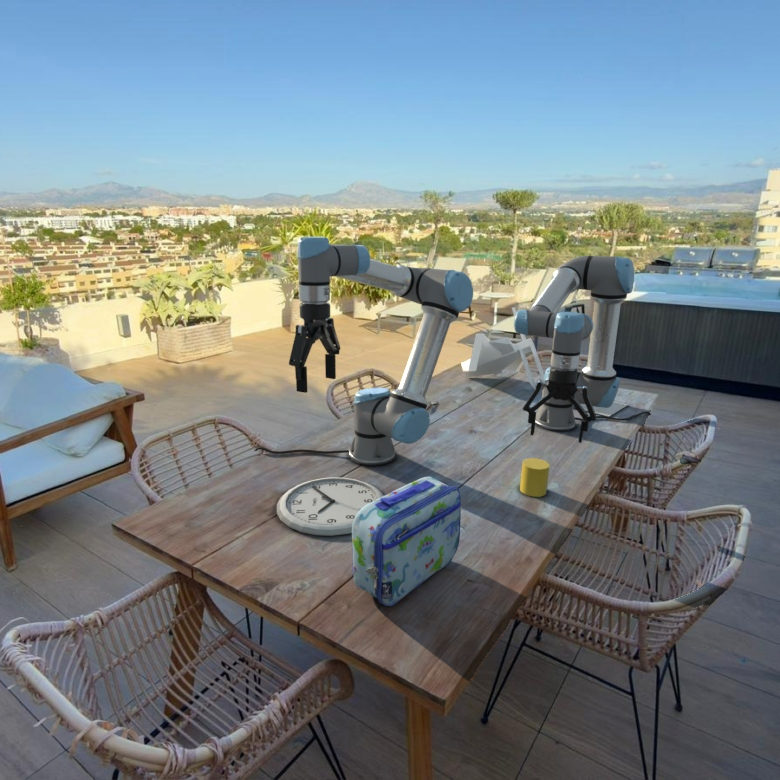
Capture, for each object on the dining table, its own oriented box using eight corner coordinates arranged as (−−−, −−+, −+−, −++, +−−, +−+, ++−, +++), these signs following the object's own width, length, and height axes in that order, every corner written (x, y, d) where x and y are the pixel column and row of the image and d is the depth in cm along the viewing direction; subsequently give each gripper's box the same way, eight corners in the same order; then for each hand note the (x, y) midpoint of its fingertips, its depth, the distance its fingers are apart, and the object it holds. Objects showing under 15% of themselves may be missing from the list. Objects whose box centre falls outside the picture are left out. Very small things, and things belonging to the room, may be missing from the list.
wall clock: (392, 527, 129) (268, 531, 127) (391, 533, 130) (269, 537, 127) (383, 473, 158) (282, 475, 155) (383, 478, 158) (282, 480, 156)
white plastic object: (482, 418, 266) (461, 395, 241) (463, 346, 288) (443, 318, 264) (553, 394, 254) (538, 368, 229) (528, 321, 276) (512, 289, 251)
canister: (538, 499, 148) (542, 471, 145) (515, 490, 153) (517, 463, 150) (550, 490, 153) (554, 463, 151) (527, 482, 158) (530, 455, 155)
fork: (422, 411, 216) (422, 407, 215) (433, 400, 230) (433, 396, 230) (428, 412, 215) (429, 407, 215) (438, 401, 230) (439, 396, 229)
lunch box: (381, 619, 101) (382, 525, 95) (345, 592, 109) (344, 503, 102) (464, 563, 119) (469, 480, 113) (428, 543, 126) (432, 464, 120)
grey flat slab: (608, 416, 214) (573, 407, 224) (608, 416, 214) (573, 408, 224) (628, 404, 229) (594, 396, 238) (628, 405, 229) (594, 397, 238)
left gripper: (298, 309, 116) (301, 400, 123) (352, 297, 138) (353, 374, 144) (271, 307, 119) (275, 395, 126) (328, 295, 141) (329, 371, 147)
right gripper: (517, 366, 149) (510, 435, 155) (611, 376, 139) (600, 449, 146) (521, 359, 155) (515, 426, 162) (611, 369, 146) (601, 439, 153)
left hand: (316, 384), depth 135 cm, fingers open, 13 cm apart
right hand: (555, 437), depth 154 cm, fingers open, 13 cm apart
